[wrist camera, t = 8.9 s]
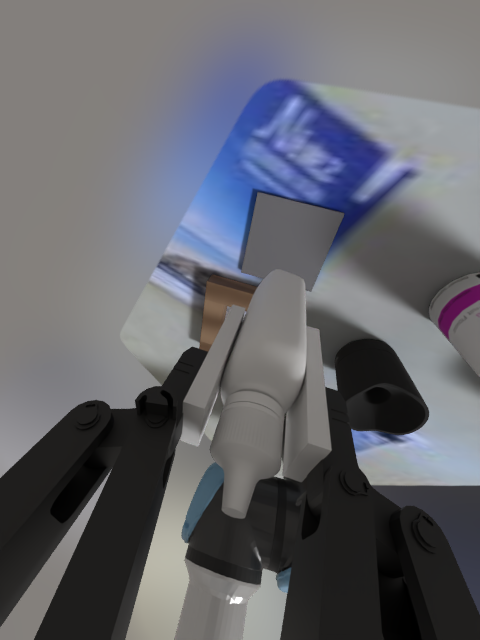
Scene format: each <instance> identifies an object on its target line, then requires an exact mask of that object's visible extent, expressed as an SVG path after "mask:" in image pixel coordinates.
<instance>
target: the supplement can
mask: <svg viewBox="0 0 480 640" xmlns="http://www.w3.org/2000/svg"><path fill="white" fill-rule="evenodd" d="M429 315H430V319H431V321H432V322H433V323H434V324H435V325H436V326H437V328H438V329H439V330H440V331H441V332H442V333H443V335H444V336H445V337H446V338H447V339H448V341H449V342H450V343H451V344H452V345H453V346H454V348H455V349H456V350H457V351H458V352H459V354H460V355H461V356H462V357H463V358H464V359H465V361H466V362H467V363H468V364H469V365H470V366H471V368H472V369H473V370H474V371H475V372H476V374H477V375H478V376H479V377H480V272H479V273H473V274H468V275H466V276H463V277H461V278H458V279H456V280H454V281H452V282H450V283H449V284H448V285H446V286H445V287H443V288H442V289H441V290H440V291H439V292H438V293H437V294H436V296H435V297H434V298H433V299H432V301H431V304H430V307H429Z"/></svg>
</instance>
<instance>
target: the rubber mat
mask: <svg viewBox="0 0 480 640" xmlns="http://www.w3.org/2000/svg"><path fill="white" fill-rule="evenodd" d="M343 216H344V213H342V212H338V211H334V210H330V209H326V208H322V207H318V206H314V205H310V204H306V203H302V202H298V201H294V200H290V199H286V198H282V197H277V196H273V195H269V194H265V193H261V192H258V193H257V198H256V203H255V208H254V213H253V217H252V222H251V227H250V232H249V237H248V242H247V246H246V251H245V256H244V261H243V266H242V271H241V272H242V273H245V274H249V275H253V276H256V277H260V278H263V279H264V278H265V277H266V276H267V275H268V274H269V273H270V272H272V271H273V270H276V269H279V270H283V271H286V272H289V273H292V274H294V275H297V276H299V277H301V278H302V279H304V282H305V290H307V291H310V292H311V291H312V288H313V286H314V284H315V281H316V279H317V277H318V274H319V272H320V270H321V267H322V265H323V263H324V261H325V258H326V256H327V254H328V251H329V249H330V247H331V244H332V242H333V240H334V237H335V235H336V233H337V230H338V228H339V226H340V223H341V221H342V219H343Z"/></svg>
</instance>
